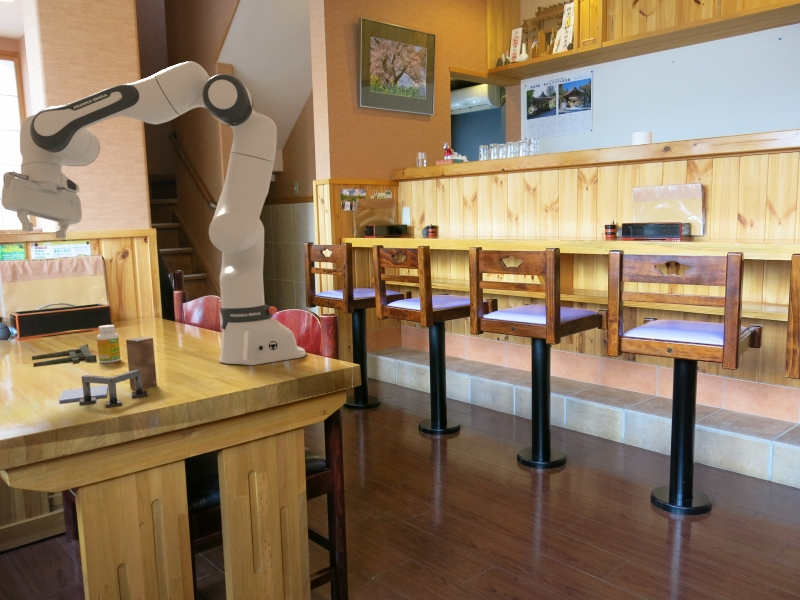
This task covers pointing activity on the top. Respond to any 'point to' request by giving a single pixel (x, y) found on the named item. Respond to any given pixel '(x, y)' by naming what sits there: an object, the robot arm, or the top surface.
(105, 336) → the supplement bottle
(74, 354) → the miniature torii gate
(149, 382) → the walnut peg
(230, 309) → the robot arm
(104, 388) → the pad
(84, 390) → the bent rail on posts
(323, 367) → the top surface
